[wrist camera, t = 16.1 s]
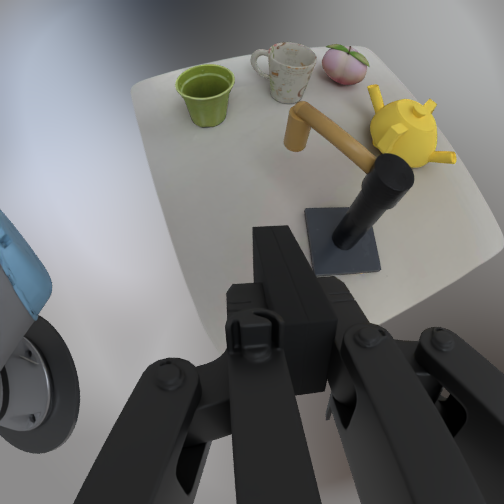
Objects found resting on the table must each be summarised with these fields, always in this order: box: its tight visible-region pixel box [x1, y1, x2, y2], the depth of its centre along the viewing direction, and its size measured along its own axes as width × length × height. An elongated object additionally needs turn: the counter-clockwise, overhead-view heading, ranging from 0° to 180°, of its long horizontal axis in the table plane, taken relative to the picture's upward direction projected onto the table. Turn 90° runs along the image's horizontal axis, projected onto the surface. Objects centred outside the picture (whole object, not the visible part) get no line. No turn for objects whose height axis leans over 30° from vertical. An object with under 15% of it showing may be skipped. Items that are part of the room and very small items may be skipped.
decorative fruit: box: [322, 44, 369, 85], centre depth 52 cm, size 9×8×10 cm
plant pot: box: [175, 64, 235, 127], centre depth 48 cm, size 9×9×9 cm
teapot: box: [367, 85, 456, 168], centre depth 46 cm, size 20×18×11 cm
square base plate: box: [304, 190, 386, 277], centre depth 38 cm, size 10×10×14 cm
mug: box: [250, 42, 317, 104], centre depth 50 cm, size 8×13×10 cm, turn 59°
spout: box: [284, 101, 414, 210], centre depth 32 cm, size 16×4×8 cm, turn 43°
